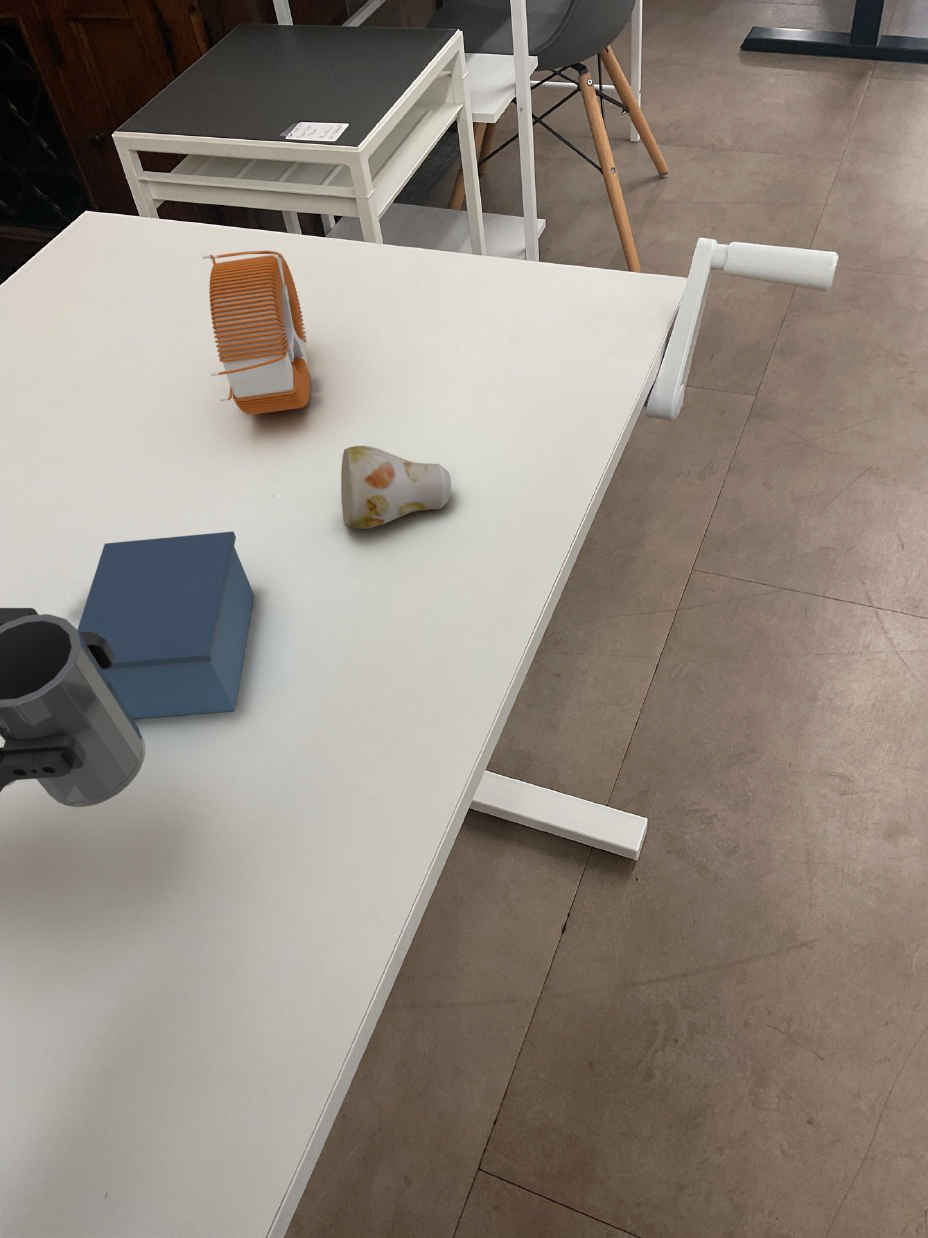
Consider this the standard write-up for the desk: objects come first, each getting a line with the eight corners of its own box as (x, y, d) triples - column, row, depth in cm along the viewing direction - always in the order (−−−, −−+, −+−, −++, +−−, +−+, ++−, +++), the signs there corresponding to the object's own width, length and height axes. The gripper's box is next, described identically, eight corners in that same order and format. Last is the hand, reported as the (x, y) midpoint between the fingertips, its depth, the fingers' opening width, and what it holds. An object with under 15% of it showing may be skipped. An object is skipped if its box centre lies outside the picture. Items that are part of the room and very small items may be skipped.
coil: (314, 352, 107) (278, 220, 96) (309, 441, 98) (269, 306, 86) (250, 361, 108) (207, 230, 97) (239, 451, 98) (190, 317, 87)
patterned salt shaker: (470, 523, 88) (404, 473, 80) (380, 565, 92) (309, 521, 84) (459, 454, 91) (395, 399, 83) (372, 497, 95) (303, 448, 87)
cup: (134, 803, 58) (63, 702, 51) (31, 811, 59) (-55, 711, 51) (154, 716, 62) (91, 609, 55) (58, 723, 63) (-18, 618, 55)
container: (238, 714, 77) (209, 655, 71) (103, 724, 78) (65, 667, 72) (258, 592, 85) (233, 530, 80) (137, 602, 86) (104, 543, 80)
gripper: (-297, 798, 50) (30, 774, 48) (-178, 584, 59) (98, 559, 58) (-204, 869, 55) (91, 849, 54) (-109, 663, 65) (144, 642, 63)
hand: (94, 699), depth 56 cm, fingers closed on cup, 6 cm apart
